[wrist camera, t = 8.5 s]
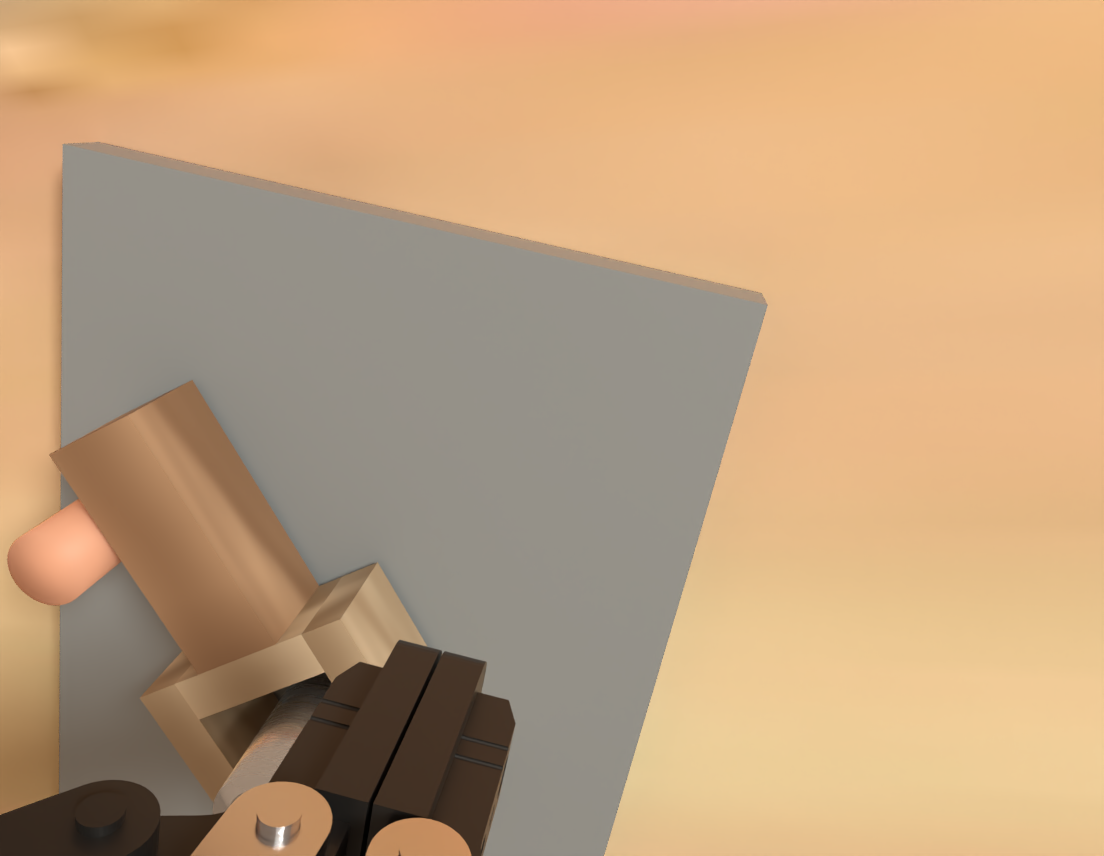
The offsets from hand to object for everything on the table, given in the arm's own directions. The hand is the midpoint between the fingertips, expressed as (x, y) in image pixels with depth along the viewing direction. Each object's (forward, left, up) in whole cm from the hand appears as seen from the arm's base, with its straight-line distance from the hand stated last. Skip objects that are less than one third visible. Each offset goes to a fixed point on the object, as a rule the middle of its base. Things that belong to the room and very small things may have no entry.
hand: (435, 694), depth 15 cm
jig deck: (+4, +8, -11) cm, 14 cm away
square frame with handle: (+6, +6, -9) cm, 13 cm away
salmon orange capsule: (+11, +4, -10) cm, 15 cm away
